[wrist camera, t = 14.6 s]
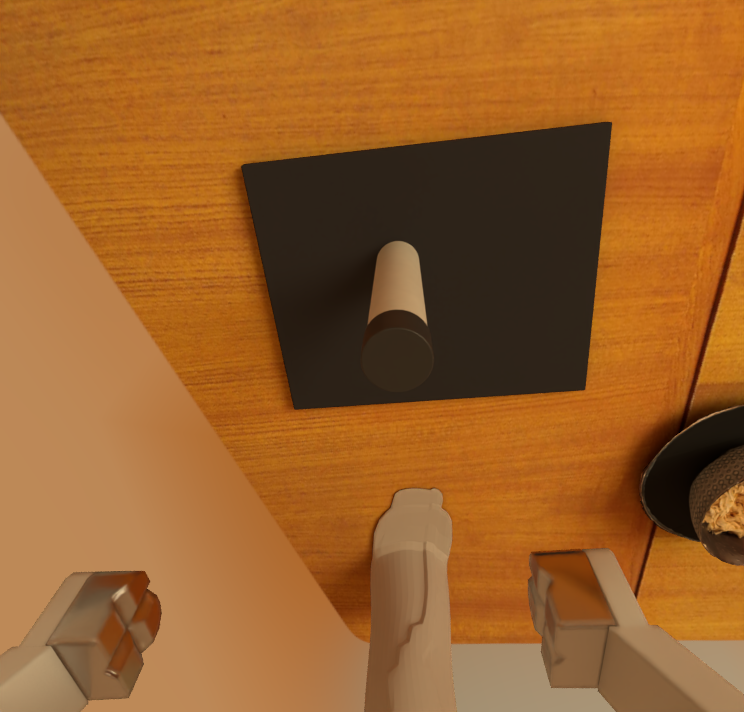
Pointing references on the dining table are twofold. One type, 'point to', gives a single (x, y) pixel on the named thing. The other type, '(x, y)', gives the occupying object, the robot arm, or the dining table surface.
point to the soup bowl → (701, 485)
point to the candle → (411, 608)
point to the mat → (438, 259)
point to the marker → (397, 323)
